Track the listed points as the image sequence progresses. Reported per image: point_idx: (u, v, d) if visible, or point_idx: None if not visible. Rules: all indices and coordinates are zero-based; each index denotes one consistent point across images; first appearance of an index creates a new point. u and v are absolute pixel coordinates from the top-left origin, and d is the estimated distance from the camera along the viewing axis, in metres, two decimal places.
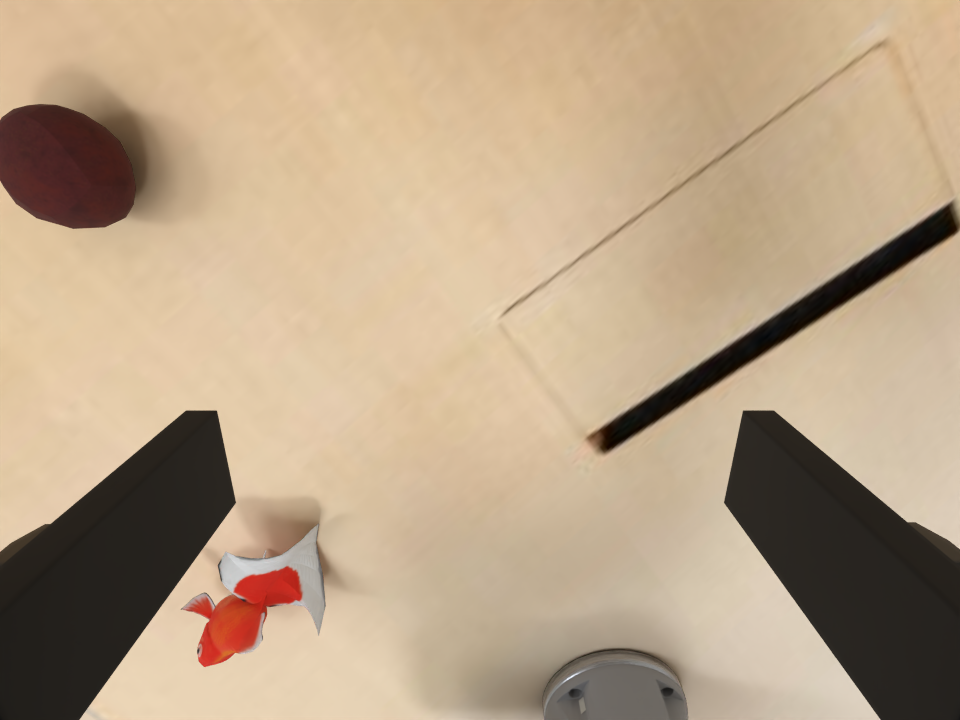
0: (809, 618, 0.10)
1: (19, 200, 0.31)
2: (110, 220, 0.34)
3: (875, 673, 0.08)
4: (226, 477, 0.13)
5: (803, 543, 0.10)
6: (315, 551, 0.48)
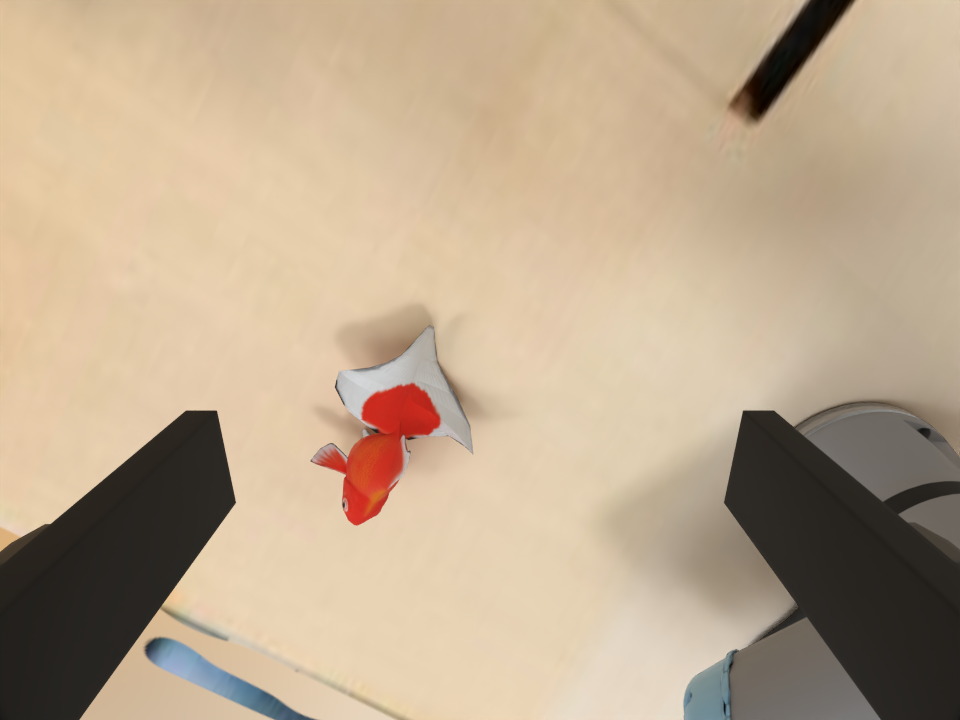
0: (809, 618, 0.10)
1: None
2: None
3: (874, 673, 0.08)
4: (226, 477, 0.13)
5: (803, 543, 0.10)
6: (439, 371, 0.40)
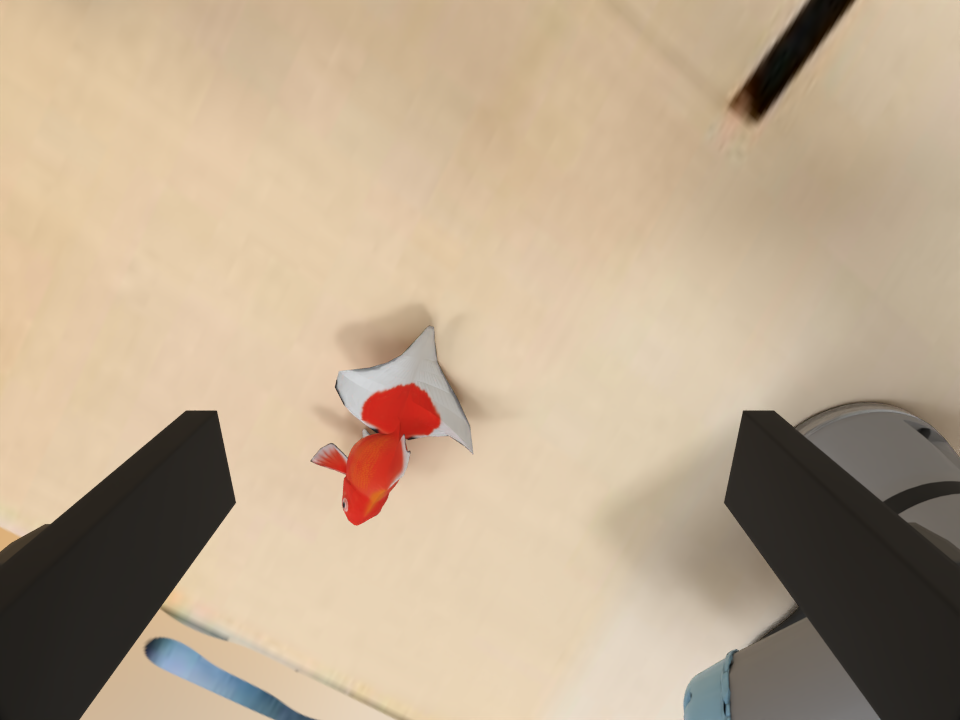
0: (809, 618, 0.10)
1: None
2: None
3: (874, 673, 0.08)
4: (226, 477, 0.13)
5: (803, 543, 0.10)
6: (439, 371, 0.40)
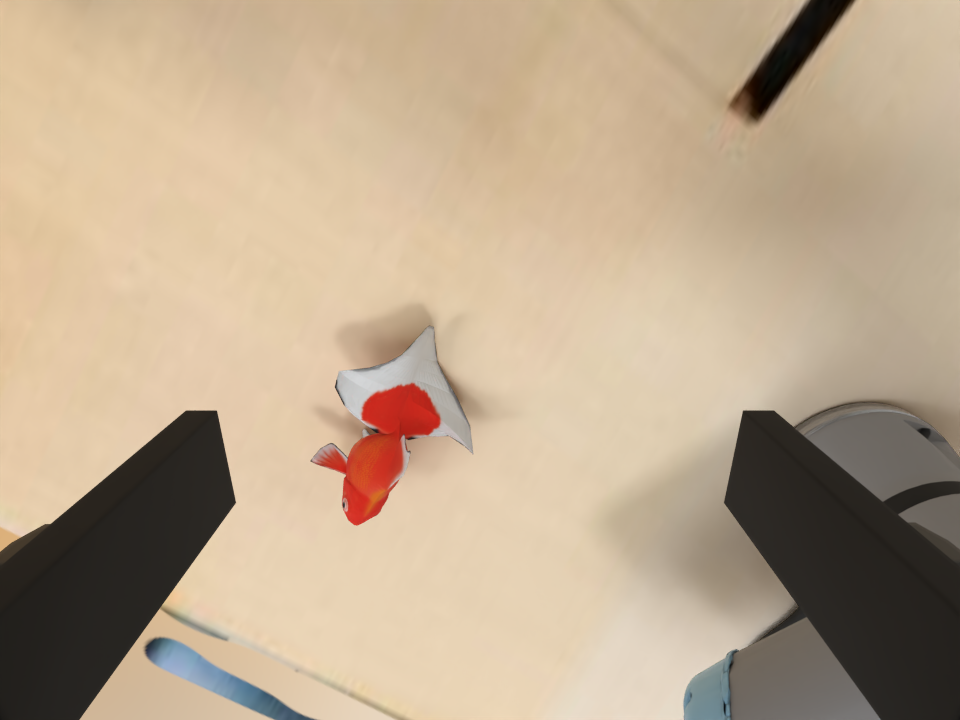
0: (809, 618, 0.10)
1: None
2: None
3: (874, 673, 0.08)
4: (226, 477, 0.13)
5: (803, 543, 0.10)
6: (439, 371, 0.40)
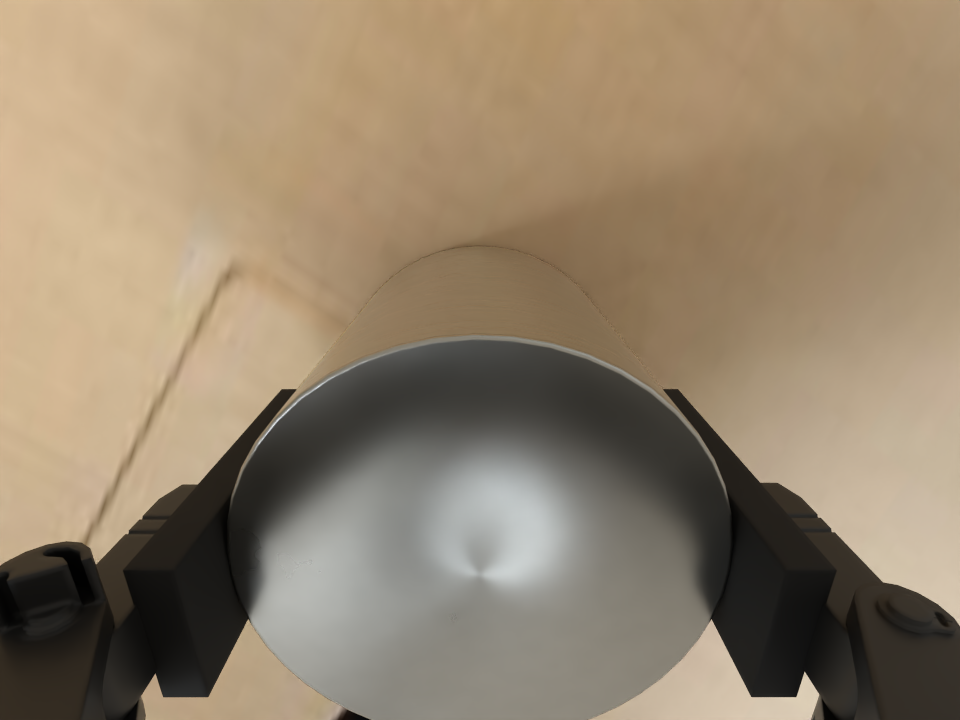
0: None
1: None
2: None
3: (724, 610, 0.09)
4: None
5: None
6: None
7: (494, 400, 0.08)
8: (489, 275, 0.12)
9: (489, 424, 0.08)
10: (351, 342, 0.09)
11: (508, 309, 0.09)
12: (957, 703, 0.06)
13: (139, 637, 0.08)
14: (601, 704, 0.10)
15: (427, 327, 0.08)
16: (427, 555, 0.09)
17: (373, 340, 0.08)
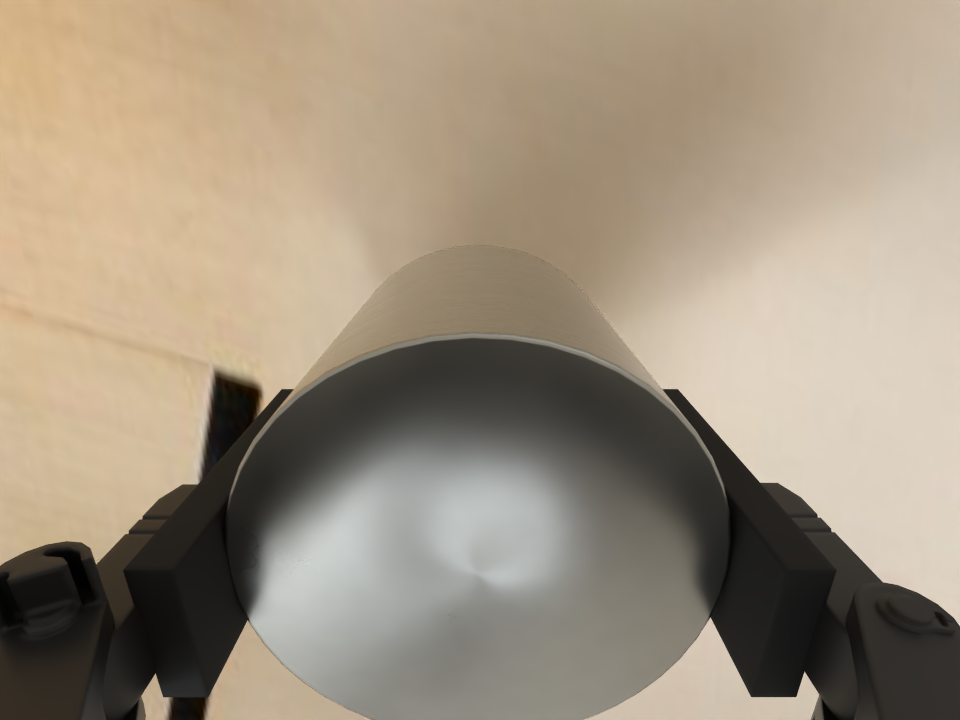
0: None
1: None
2: None
3: (723, 610, 0.09)
4: None
5: None
6: None
7: (492, 398, 0.08)
8: (488, 274, 0.12)
9: (487, 422, 0.08)
10: (349, 341, 0.09)
11: (507, 307, 0.09)
12: (957, 703, 0.06)
13: (139, 637, 0.08)
14: (600, 703, 0.10)
15: (425, 325, 0.08)
16: (425, 553, 0.09)
17: (371, 339, 0.08)
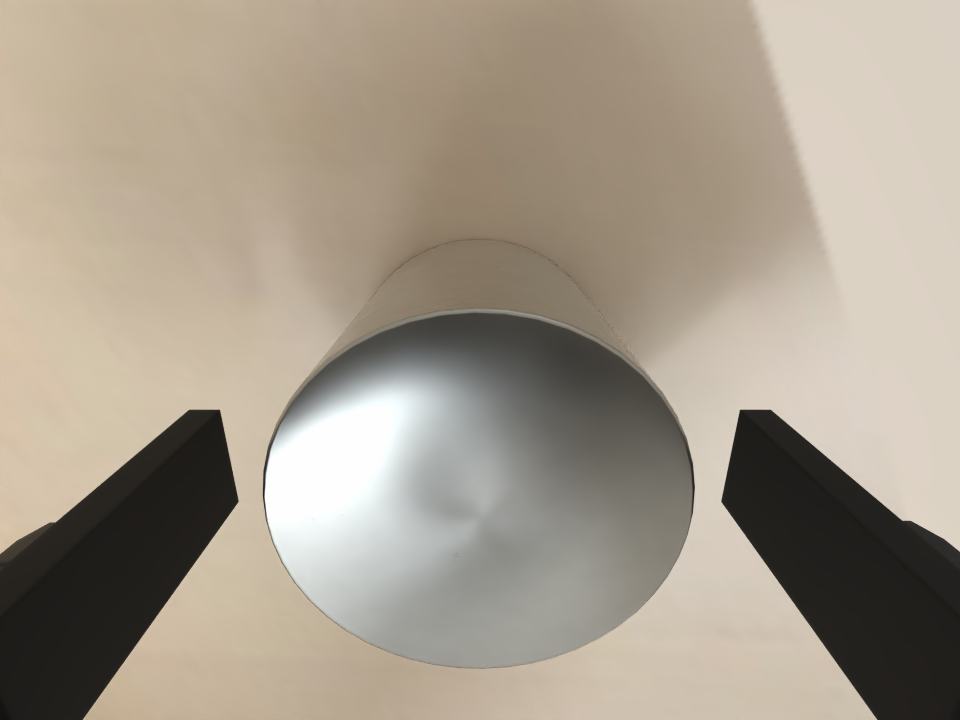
0: (805, 616, 0.10)
1: None
2: None
3: (869, 671, 0.08)
4: (229, 476, 0.13)
5: (799, 541, 0.10)
6: None
7: (491, 364, 0.10)
8: (487, 263, 0.13)
9: (487, 385, 0.10)
10: (368, 318, 0.11)
11: (503, 289, 0.11)
12: None
13: None
14: (584, 635, 0.12)
15: (434, 304, 0.10)
16: (433, 500, 0.11)
17: (388, 315, 0.10)
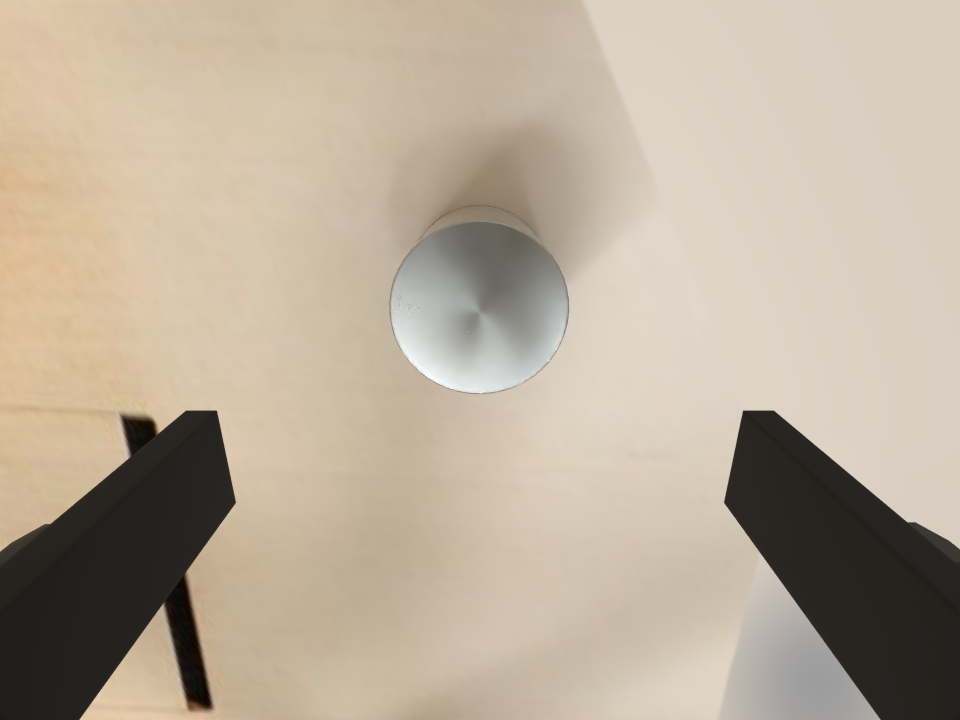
0: (809, 618, 0.10)
1: None
2: None
3: (875, 673, 0.08)
4: (226, 477, 0.13)
5: (803, 543, 0.10)
6: None
7: (484, 243, 0.24)
8: (483, 212, 0.28)
9: (482, 252, 0.25)
10: (433, 229, 0.26)
11: (489, 217, 0.26)
12: None
13: None
14: (526, 374, 0.27)
15: (461, 220, 0.25)
16: (460, 304, 0.26)
17: (443, 225, 0.25)
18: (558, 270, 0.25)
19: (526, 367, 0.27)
